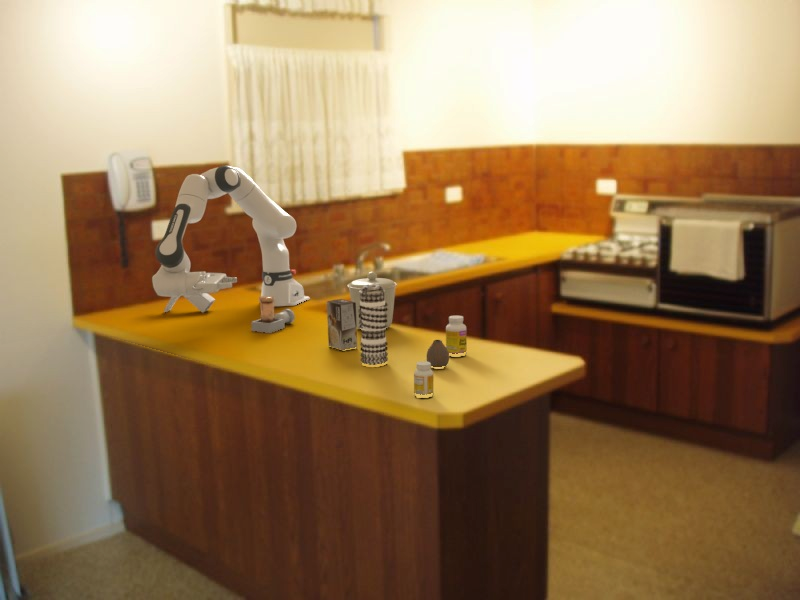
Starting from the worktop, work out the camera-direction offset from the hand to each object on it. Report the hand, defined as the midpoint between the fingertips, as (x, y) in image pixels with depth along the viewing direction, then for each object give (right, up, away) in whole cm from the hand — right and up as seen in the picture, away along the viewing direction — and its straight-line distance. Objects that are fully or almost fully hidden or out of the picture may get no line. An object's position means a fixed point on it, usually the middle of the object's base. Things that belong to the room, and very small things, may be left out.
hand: (234, 282), depth 343 cm
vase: (+72, -28, -55) cm, 95 cm away
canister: (+51, -17, +2) cm, 54 cm away
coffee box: (+42, -23, -27) cm, 55 cm away
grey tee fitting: (+14, -17, +6) cm, 23 cm away
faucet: (-26, -11, +40) cm, 49 cm away
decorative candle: (+53, -27, -49) cm, 77 cm away
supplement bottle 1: (+67, -33, -84) cm, 113 cm away
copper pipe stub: (+12, -17, +3) cm, 21 cm away
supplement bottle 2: (+79, -25, -40) cm, 92 cm away
